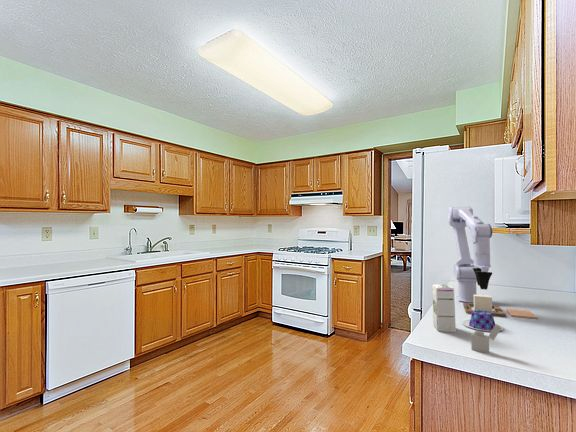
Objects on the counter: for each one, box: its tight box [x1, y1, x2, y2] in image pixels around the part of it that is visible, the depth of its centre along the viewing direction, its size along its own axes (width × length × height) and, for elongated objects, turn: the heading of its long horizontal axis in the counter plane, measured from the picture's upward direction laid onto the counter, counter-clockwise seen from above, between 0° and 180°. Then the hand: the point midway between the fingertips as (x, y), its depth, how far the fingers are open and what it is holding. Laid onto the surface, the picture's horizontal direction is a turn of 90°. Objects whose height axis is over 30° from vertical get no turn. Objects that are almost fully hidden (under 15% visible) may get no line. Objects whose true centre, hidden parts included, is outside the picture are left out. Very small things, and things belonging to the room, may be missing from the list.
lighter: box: [470, 323, 502, 354], centre depth 87 cm, size 7×2×8 cm, turn 55°
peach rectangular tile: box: [504, 307, 538, 320], centre depth 122 cm, size 10×8×1 cm
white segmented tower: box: [432, 283, 457, 333], centre depth 106 cm, size 6×6×14 cm
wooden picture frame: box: [462, 302, 507, 318], centre depth 127 cm, size 14×13×2 cm
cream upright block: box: [473, 294, 493, 312], centre depth 127 cm, size 3×6×6 cm, turn 65°
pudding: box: [462, 309, 504, 332], centre depth 108 cm, size 12×12×5 cm
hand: (482, 287), depth 127 cm, fingers open, 7 cm apart
